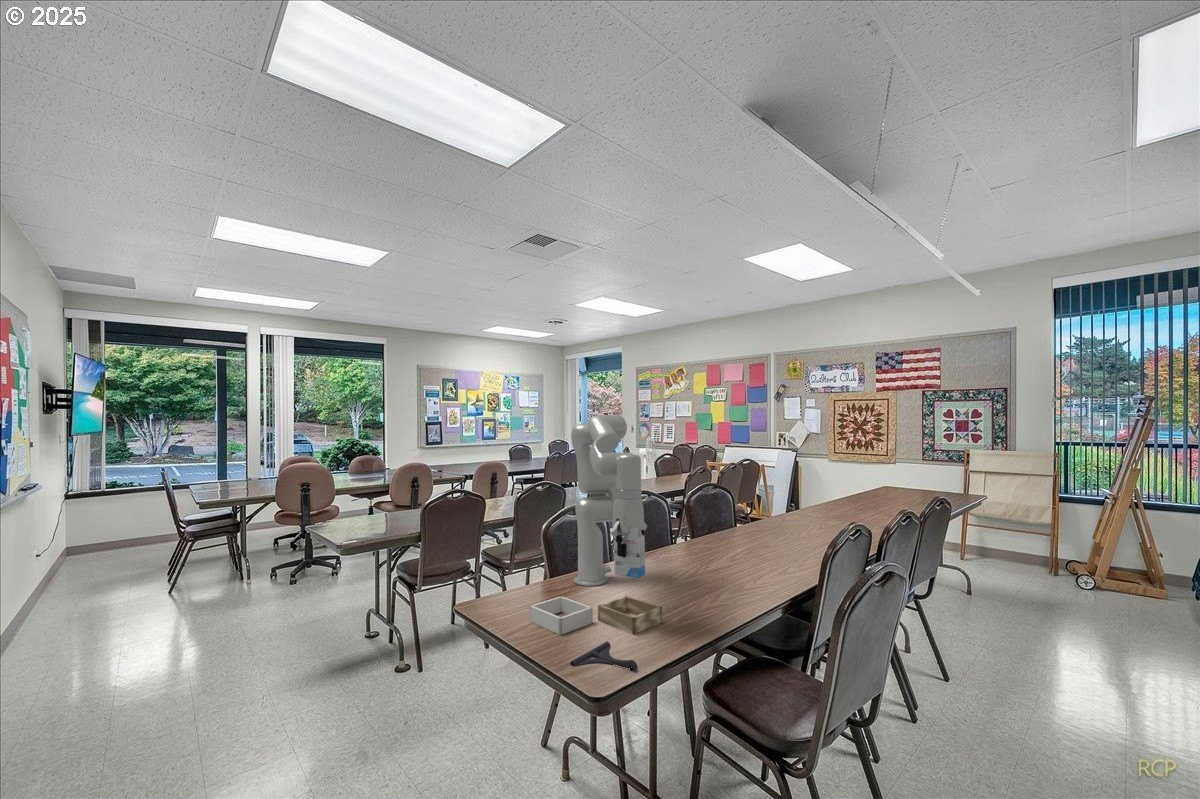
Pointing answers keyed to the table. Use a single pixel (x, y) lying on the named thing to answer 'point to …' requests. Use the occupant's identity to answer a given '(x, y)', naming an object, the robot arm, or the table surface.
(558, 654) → the table surface
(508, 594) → the table surface
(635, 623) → the frame
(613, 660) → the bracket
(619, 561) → the ink box
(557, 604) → the frame
